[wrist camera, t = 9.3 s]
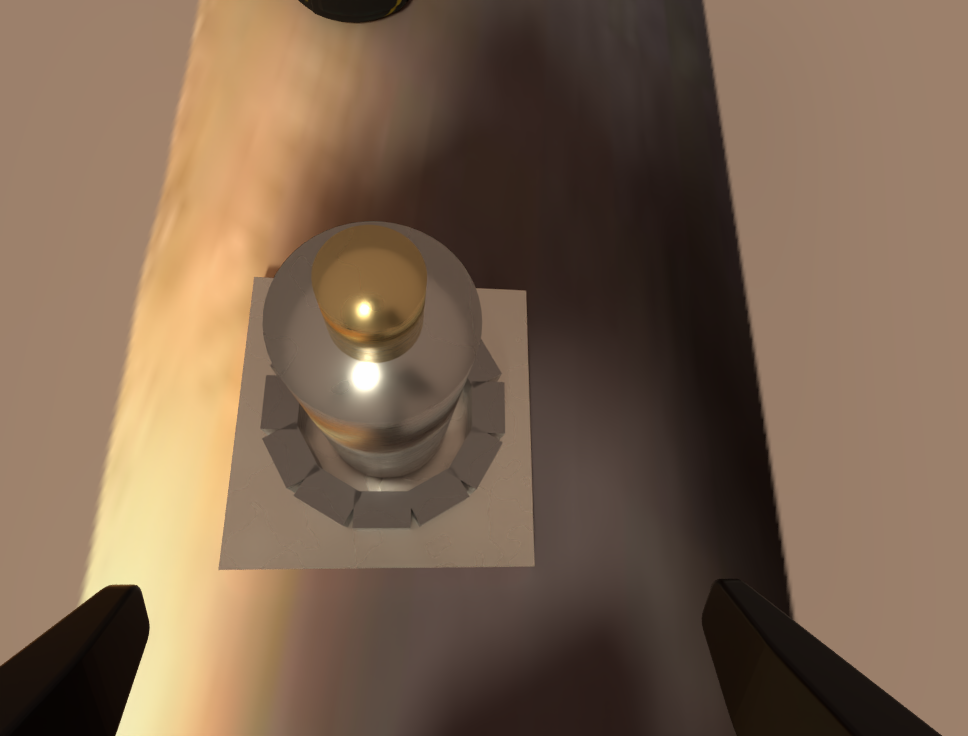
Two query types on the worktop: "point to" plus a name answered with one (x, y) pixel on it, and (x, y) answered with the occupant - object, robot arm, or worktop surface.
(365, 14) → the tape measure
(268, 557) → the socket flange
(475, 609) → the worktop surface
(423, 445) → the gold-capped glass bottle
